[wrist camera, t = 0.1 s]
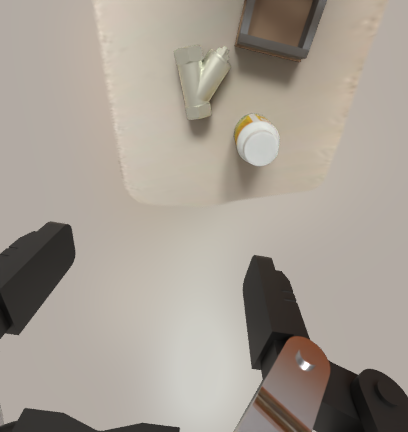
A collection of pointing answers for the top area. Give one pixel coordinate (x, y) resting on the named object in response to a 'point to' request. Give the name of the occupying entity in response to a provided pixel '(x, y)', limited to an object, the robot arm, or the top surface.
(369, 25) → the top surface
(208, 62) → the pipe fitting
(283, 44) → the square holder
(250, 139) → the supplement bottle
